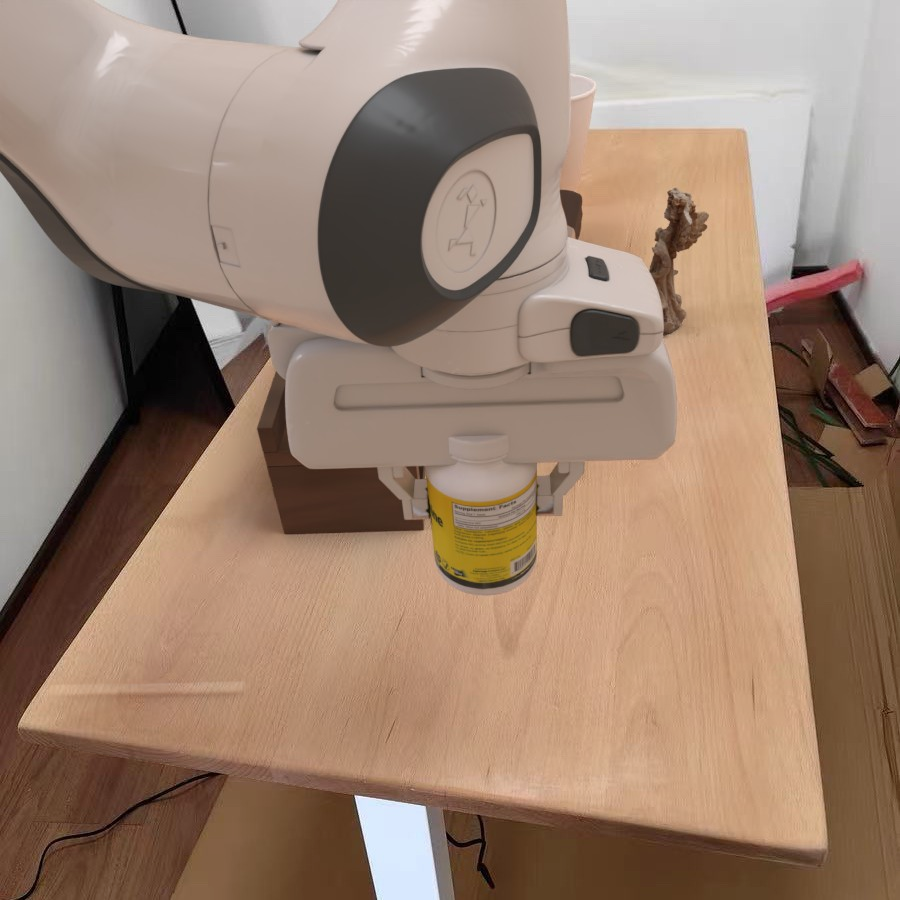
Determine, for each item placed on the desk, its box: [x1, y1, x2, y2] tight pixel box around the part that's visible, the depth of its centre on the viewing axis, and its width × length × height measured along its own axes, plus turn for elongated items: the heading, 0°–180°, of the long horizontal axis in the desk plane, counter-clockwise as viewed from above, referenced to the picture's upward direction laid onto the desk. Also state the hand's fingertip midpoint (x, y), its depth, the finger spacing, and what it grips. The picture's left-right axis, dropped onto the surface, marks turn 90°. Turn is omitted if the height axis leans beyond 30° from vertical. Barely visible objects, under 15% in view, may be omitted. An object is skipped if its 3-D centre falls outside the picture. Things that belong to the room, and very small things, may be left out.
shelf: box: [256, 370, 426, 535], centre depth 81 cm, size 28×12×11 cm, turn 178°
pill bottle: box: [425, 435, 538, 597], centre depth 49 cm, size 6×6×11 cm
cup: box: [560, 73, 598, 193], centre depth 119 cm, size 12×12×16 cm
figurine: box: [648, 187, 710, 335], centre depth 92 cm, size 7×6×15 cm
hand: (483, 510), depth 50 cm, fingers closed on pill bottle, 6 cm apart
